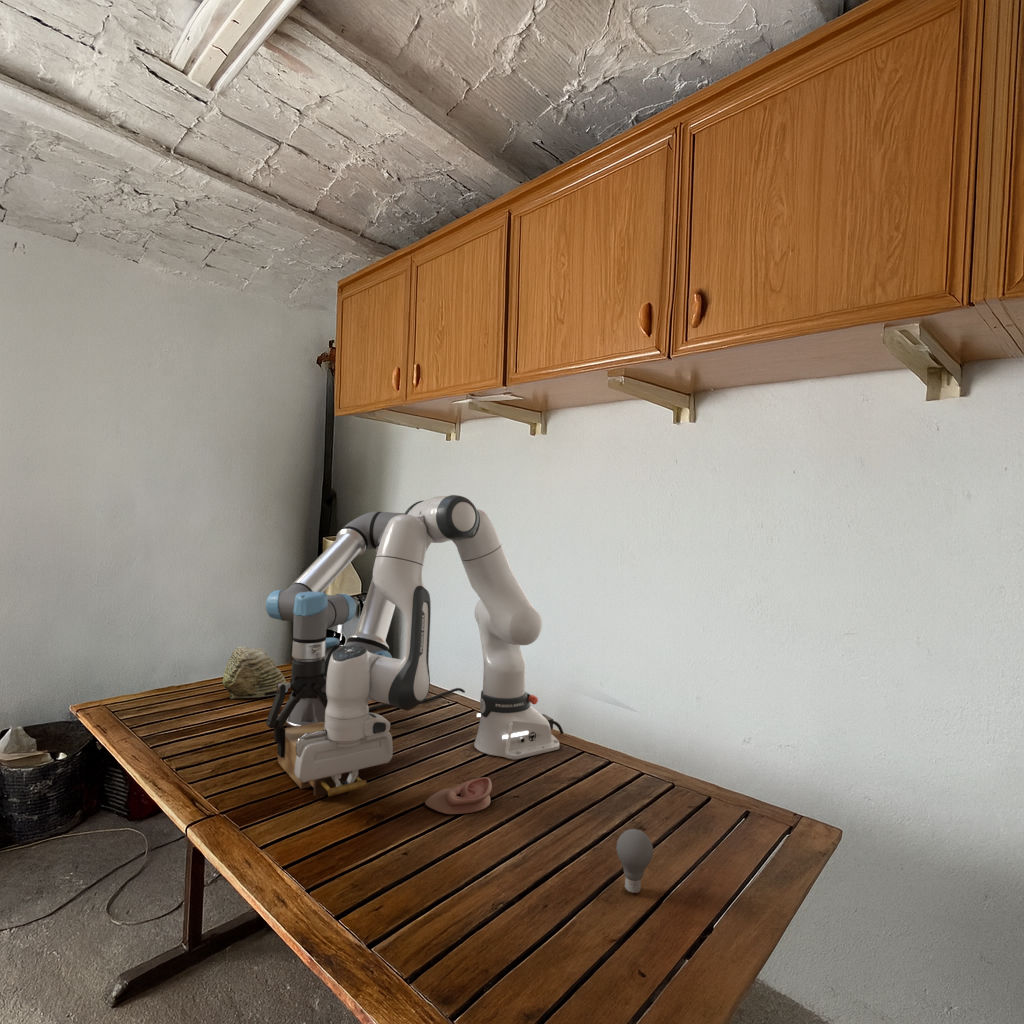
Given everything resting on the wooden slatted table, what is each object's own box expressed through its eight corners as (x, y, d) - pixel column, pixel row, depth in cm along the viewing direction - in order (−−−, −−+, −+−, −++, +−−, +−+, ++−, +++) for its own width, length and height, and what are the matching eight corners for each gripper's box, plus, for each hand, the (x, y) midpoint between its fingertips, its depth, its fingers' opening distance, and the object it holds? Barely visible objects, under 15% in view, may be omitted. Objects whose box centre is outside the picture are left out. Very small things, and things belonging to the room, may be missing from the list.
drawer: (369, 796, 133) (370, 768, 133) (325, 808, 127) (326, 779, 127) (331, 761, 149) (332, 736, 149) (291, 770, 144) (292, 744, 144)
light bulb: (610, 879, 108) (613, 822, 108) (644, 879, 109) (647, 822, 109) (619, 902, 102) (622, 840, 102) (655, 901, 103) (658, 840, 103)
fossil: (218, 695, 195) (220, 647, 195) (278, 685, 208) (279, 640, 207) (228, 703, 189) (230, 653, 188) (289, 692, 201) (290, 645, 201)
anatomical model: (420, 791, 129) (438, 768, 141) (419, 810, 129) (437, 786, 141) (483, 800, 127) (496, 776, 138) (482, 819, 127) (495, 794, 138)
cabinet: (348, 777, 143) (349, 743, 143) (301, 789, 137) (302, 753, 137) (321, 752, 156) (322, 721, 156) (277, 762, 150) (278, 729, 150)
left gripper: (262, 667, 140) (259, 766, 140) (361, 655, 154) (357, 745, 154) (253, 660, 146) (249, 755, 146) (348, 649, 160) (345, 735, 160)
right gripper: (301, 740, 123) (298, 811, 123) (397, 722, 135) (394, 786, 135) (291, 730, 128) (288, 797, 128) (384, 713, 140) (382, 775, 140)
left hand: (305, 750), depth 150 cm, fingers closed on cabinet, 11 cm apart
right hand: (344, 791), depth 132 cm, fingers closed, pressing on drawer
